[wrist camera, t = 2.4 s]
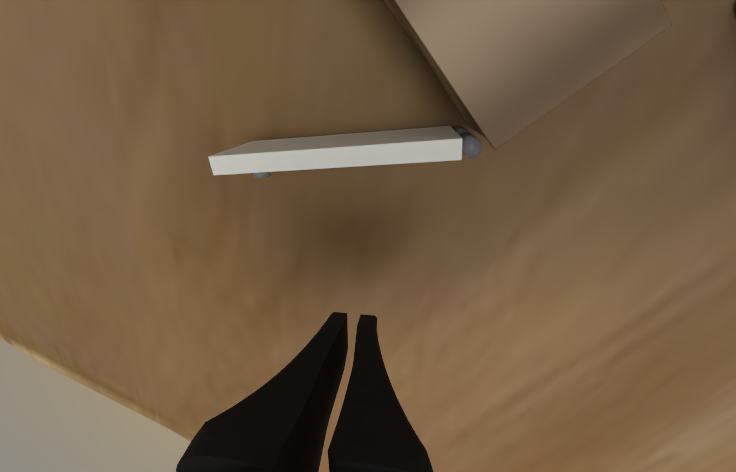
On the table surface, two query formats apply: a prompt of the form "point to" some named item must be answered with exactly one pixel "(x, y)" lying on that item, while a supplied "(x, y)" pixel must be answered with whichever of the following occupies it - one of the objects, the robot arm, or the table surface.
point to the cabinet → (523, 51)
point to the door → (347, 151)
